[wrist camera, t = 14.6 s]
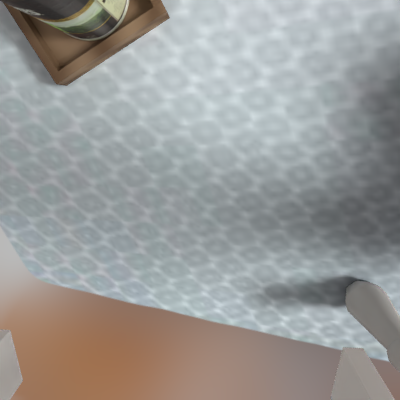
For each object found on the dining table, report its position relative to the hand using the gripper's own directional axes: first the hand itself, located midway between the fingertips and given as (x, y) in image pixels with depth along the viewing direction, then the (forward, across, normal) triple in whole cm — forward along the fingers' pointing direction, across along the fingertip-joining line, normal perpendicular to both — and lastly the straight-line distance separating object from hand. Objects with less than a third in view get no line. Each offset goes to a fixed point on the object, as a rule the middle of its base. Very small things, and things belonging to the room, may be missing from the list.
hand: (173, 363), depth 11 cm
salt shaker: (+29, -25, +17) cm, 42 cm away
